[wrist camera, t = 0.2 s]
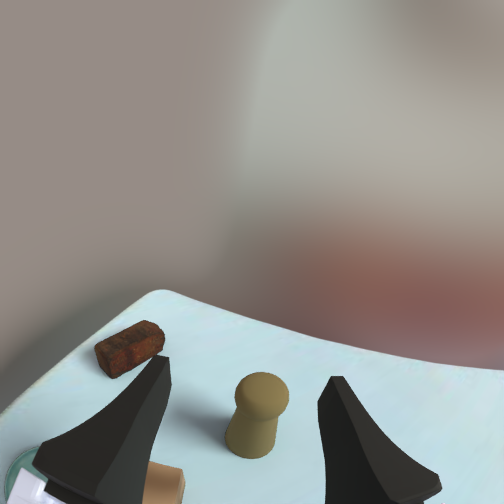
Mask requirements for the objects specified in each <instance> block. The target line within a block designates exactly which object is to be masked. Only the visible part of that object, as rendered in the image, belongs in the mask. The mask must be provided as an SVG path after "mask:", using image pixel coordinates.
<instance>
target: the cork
mask: <svg viewBox="0 0 504 504" xmlns="http://www.w3.org/2000/svg"><path fill="white" fill-rule="evenodd" d="M235 402H236V406H237V408H236V410H235V413H234V415H233V417H232V419H231V422H230V424H229V426H228V428H227V430H226V434H225V441H226V445H227V446H228V448H229V449H230V450H231V451H232V452H233V453H234V454H235V455H237V456H240V457H242V458H247V459H255V458H261V457H263V456H265V455H267V454H268V453H269V452H270V451H271V450H272V448H273V446H274V444H275V438H276V431H277V423H278V416H279V415H280V414H282V413H283V412H284V411H285V409H286V407H287V404H288V402H289V391H288V388H287V386H286V384H285V383H284V382H283V381H282V380H281V379H280V378H279V377H277V376H276V375H273V374H270V373H265V372H257V373H253V374H250V375H248V376H246V377H245V378H243V379H242V380H241V381H240V383H239V384H238V386H237V387H236V391H235Z"/></svg>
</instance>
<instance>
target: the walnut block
mask: <svg viewBox="0 0 504 504" xmlns="http://www.w3.org/2000/svg"><path fill="white" fill-rule="evenodd" d="M184 488H185V479H184V475H183V471H182V469H179V468H174V467H170V466H166V465H162V464H158V463H154V462H150V461H149V464H148V469H147V474H146V480H145V486H144V493H143V501H142V504H181V503H182V498H183V493H184Z"/></svg>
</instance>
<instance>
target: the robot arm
mask: <svg viewBox="0 0 504 504" xmlns="http://www.w3.org/2000/svg"><path fill="white" fill-rule="evenodd" d="M171 386H172V384H171V374H170V363H169V357H165V356H160V355H154V356H153V358H152V359H151V360H150V361H149V363H148V364H147V365H146V366H145V368H144V369H143V370H142V371H141V372H140V373H139V375H138V376H137V377H136V378H135V379H134V380H133V381H132V382H131V383H130V384H129V385H128V387H127V388H126V389H125V390H124V391H122V392H121V393H120V394H119V395H118V396H117V397H116V398H115V399H114V400H113V401H112V402H111V403H109V404H108V405H107V406H106V407H105V408H103V409H102V410H101V411H100V412H98V413H97V414H95V415H94V416H93V417H91V418H90V419H88V420H87V421H85V422H84V423H82V424H80V425H79V426H77V427H75V428H73V429H71V430H70V431H68V432H66V433H64V434H62V435H60V436H57V437H55V438H52V439H50V440H48V441H45V442H43V443H42V444H41V446H40V447H39V449H38V451H37V453H36V455H35V457H34V459H33V461H32V466H33V467H34V468H35V469H36V470H37V471H39V472H40V473H41V474H43V475H44V476H45V477H46V478H48V481H47V483H46V482H44V481H43V480H41V479H40V478H38V477H36V476H35V475H33V474H32V473H30V472H29V471H27V470H26V469H24V468H21V469H20V471H19V474H18V476H17V478H16V481H15V483H14V486H13V488H12V491H11V493H10V496H9V498H8V501H7V504H142V501H143V493H144V486H145V480H146V474H147V469H148V464H149V459H150V454H151V450H152V446H153V443H154V440H155V437H156V434H157V431H158V429H159V426H160V423H161V420H162V418H163V415H164V412H165V409H166V406H167V403H168V399H169V395H170V390H171ZM317 402H318V422H319V429H320V435H321V440H322V446H323V452H324V458H325V472H326V494H325V504H424V502H423V501H425V500H427V499H429V498H430V497H432V496H434V495H436V494H437V493H439V492H440V491H441V490H442V485H441V482H440V479H439V476H438V474H436V473H434V472H432V471H431V470H429V469H427V468H425V467H424V466H422V465H421V464H419V463H418V462H416V461H415V460H413V459H412V458H411V457H409V456H408V455H407V454H406V453H404V452H403V451H402V450H401V449H400V448H399V447H397V446H396V445H395V444H394V443H393V442H392V441H391V440H390V439H389V438H388V437H387V436H386V435H385V434H384V432H383V431H382V430H381V429H380V428H379V427H378V425H377V424H376V423H375V422H374V420H373V419H372V418H371V416H370V415H369V414H368V412H367V411H366V410H365V408H364V407H363V405H362V404H361V402H360V401H359V400H358V398H357V397H356V395H355V394H354V392H353V390H352V389H351V387H350V386H349V384H348V383H347V381H346V380H345V378H344V377H343V376H331V377H330V379H329V381H328V383H327V385H326V387H325V388H324V390H323V392H322V394H321V396H320V398H319V400H318V401H317ZM442 504H445V503H442Z"/></svg>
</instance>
